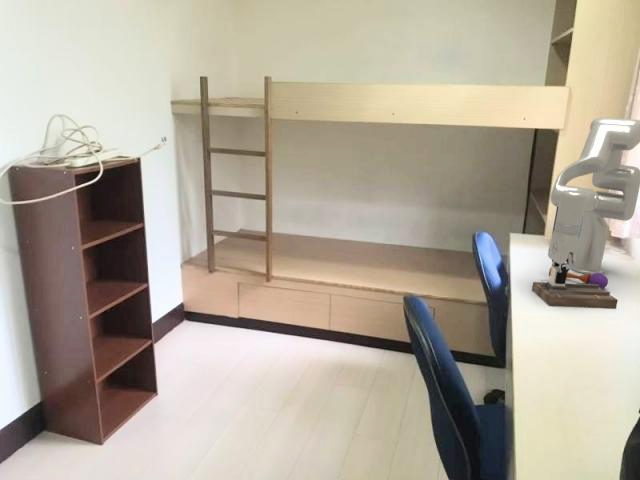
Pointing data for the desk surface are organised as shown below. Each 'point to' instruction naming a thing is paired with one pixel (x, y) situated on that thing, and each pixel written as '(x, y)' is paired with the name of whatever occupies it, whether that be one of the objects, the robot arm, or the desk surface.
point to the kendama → (590, 278)
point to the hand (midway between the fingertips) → (557, 280)
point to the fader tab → (551, 283)
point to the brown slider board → (575, 296)
